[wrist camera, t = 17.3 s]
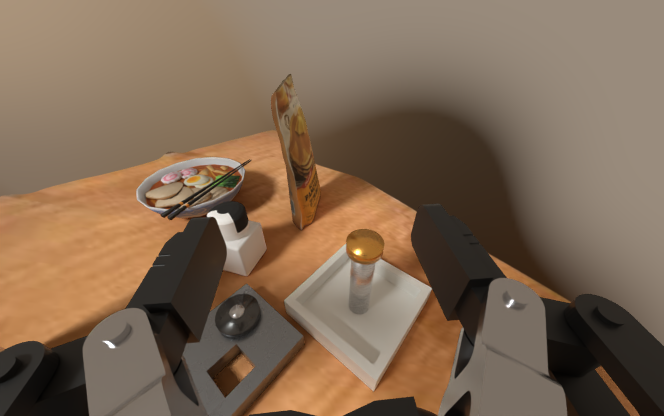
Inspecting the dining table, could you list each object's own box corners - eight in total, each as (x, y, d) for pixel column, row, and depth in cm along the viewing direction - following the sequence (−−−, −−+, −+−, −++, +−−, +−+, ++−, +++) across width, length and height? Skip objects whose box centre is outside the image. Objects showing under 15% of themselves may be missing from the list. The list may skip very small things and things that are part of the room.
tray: (286, 313, 39) (283, 300, 37) (348, 253, 48) (348, 240, 46) (373, 391, 31) (376, 381, 28) (427, 301, 40) (432, 288, 38)
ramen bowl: (207, 172, 74) (198, 146, 69) (272, 189, 67) (267, 161, 62) (123, 223, 56) (102, 193, 51) (198, 253, 49) (183, 222, 44)
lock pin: (338, 306, 39) (338, 243, 30) (355, 286, 42) (360, 224, 33) (362, 325, 36) (370, 262, 28) (378, 303, 39) (391, 240, 31)
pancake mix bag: (279, 233, 53) (253, 93, 36) (300, 185, 68) (288, 70, 51) (310, 236, 52) (298, 94, 35) (324, 187, 67) (320, 70, 50)
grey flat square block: (169, 357, 34) (156, 343, 31) (249, 292, 42) (244, 277, 39) (220, 439, 27) (209, 430, 25) (304, 344, 35) (302, 330, 33)
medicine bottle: (237, 241, 51) (220, 193, 44) (267, 249, 50) (256, 200, 42) (214, 268, 46) (191, 218, 39) (247, 277, 44) (230, 227, 37)
